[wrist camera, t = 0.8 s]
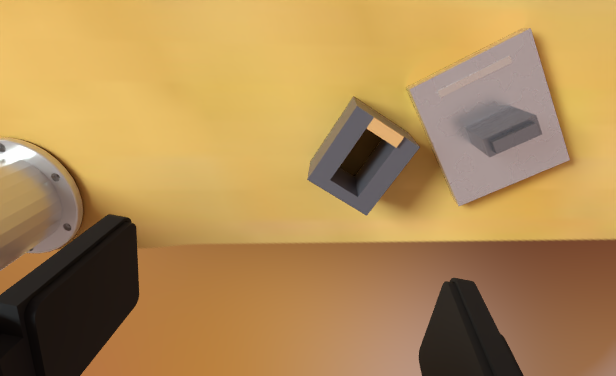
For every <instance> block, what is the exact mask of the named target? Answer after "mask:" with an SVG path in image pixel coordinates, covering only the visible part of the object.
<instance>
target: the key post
mask: <svg viewBox="0 0 616 376" xmlns="http://www.w3.org/2000/svg"><path fill="white" fill-rule="evenodd" d="M406 89H407V91H408V93H409V96H410V98H411V100H412V103H413V105H414V107H415V110H416V112H417V114H418V117H419V119H420V121H421V124H422V126H423V129H424V131H425V133H426V136H427V138H428V140H429V143H430V145H431V147H432V150H433V152H434V154H435V157H436V159H437V161H438V164H439V166H440V168H441V171H442V173H443V175H444V178H445V180H446V182H447V185H448V187H449V189H450V192H451V194H452V196H453V199H454V201H455V202H456V203H457V205H458V206H461V205H463V204H466V203H468V202H470V201H473V200H475V199H478V198H480V197H482V196H485V195H487V194H490V193H492V192H494V191H497V190H499V189H501V188H504V187H506V186H509V185H511V184H513V183H516V182H518V181H521V180H523V179H525V178H528V177H530V176H533V175H535V174H537V173H540V172H542V171H545V170H547V169H549V168H552V167H554V166H557V165H559V164H561V163H564V162H566V161H569V160H570V158H569V155H568V152H567V148H566V145H565V142H564V138H563V135H562V132H561V128H560V125H559V122H558V118H557V115H556V112H555V108H554V105H553V102H552V98H551V95H550V92H549V88H548V85H547V81H546V78H545V75H544V71H543V68H542V65H541V61H540V58H539V55H538V51H537V48H536V45H535V41H534V38H533V35H532V31H531V28H526V29H520V30H518V31H516V32H514V33H512V34H510V35H508V36H506V37H504V38H502V39H500V40H498V41H496V42H494V43H492V44H490V45H488V46H486V47H484V48H482V49H480V50H479V51H477V52H475V53H473V54H471V55H469V56H467V57H465V58H463V59H461V60H459V61H457V62H455V63H453V64H451V65H449V66H447V67H445V68H443V69H441V70H439V71H437V72H435V73H433V74H431V75H429V76H427V77H425V78H423V79H421V80H419V81H417V82H415V83H414V84H412V85H410V86H408V87H406Z"/></svg>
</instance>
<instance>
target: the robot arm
mask: <svg viewBox="0 0 616 376" xmlns="http://www.w3.org/2000/svg"><path fill="white" fill-rule="evenodd" d="M82 216H83V205H82V199H81V196H80V192H79V189H78V187H77V185H76V183H75V181H74V180H73V178H72V177H71V175H70V174H69V172H68V171H67V170H66V168H65V167H64V166H63V165H62V164H61V163H60V162H59V161H58V160H57V159H56V158H54V157H53V156H52V155H50V154H49V153H48V152H46V151H45V150H43V149H41V148H39V147H38V146H36V145H34V144H31V143H29V142H26V141H23V140H19V139H14V138H0V270H2V269H3V268H5V267H6V266H8V265H9V264H10V263H12V262H13V261H15V260H16V259H17V258H19V257H20V256H22V255H23V254H25V253H44V252H50V251H53V250H55V249H58V248H60V247H61V246H63V245H64V244H65V243H67V242H68V241H69V240H70V239H71V238H73V237H74V236H75V234H76V233H77V231H78V230H79V227H80V225H81V222H82ZM138 297H139V281H138V258H137V236H136V226H135V224H133V223H131V220H130V219H129V218H127V217H122V216H116V215H107V216H105V217H104V218H103V219H101V220H100V221H99V222H97V223H96V224H95V225H93V226H92V227H91V228H89V229H88V230H87V231H85V232H84V233H83V234H81V235H80V236H79V237H77V238H76V239H75V240H73V241H72V242H71V243H69V244H68V245H67V246H65V247H64V248H63V249H61V250H60V251H58V252H57V253H56V254H54V255H53V256H52V257H50V258H49V259H48V260H46V261H45V262H44V263H42V264H41V265H40V266H38V267H37V268H36V269H34V270H33V271H32V272H31V273H29V274H28V275H26V276H25V277H24V278H22V279H21V280H20V281H18V282H17V283H16V284H14V285H13V286H12V287H10V288H9V289H7V290H6V291H5V292H4V293H2V294H1V295H0V376H80V375H81V374H82V372H83V371H84V370H85V369H86V367H87V366H88V365H89V364H90V362H91V361H92V360H93V359H94V357H95V356H96V355H97V354H98V352H99V351H100V350H101V349H102V347H103V346H104V345H105V344H106V342H107V341H108V340H109V338H110V337H111V336H112V335H113V333H114V332H115V331H116V330H117V328H118V327H119V326H120V324H121V323H122V322H123V321H124V320H125V318H126V317H127V316H128V315H129V313H130V312H131V311H132V309H133V308H134V307H135V305H136V304H137V301H138ZM419 363H420V368H421V372H422V376H523V374H522V372H521V370H520V368H519V366H518V364H517V362H516V360H515V358H514V356H513V354H512V352H511V350H510V348H509V346H508V344H507V342H506V340H505V338H504V337H503V336H502V335H501V334H500V333H499V331H498V329H497V327H496V325H495V323H494V321H493V319H492V317H491V315H490V313H489V311H488V309H487V306H486V304H485V303H484V300H483V299H482V296H481V294H480V292H479V290H478V289H477V286H476V284H475V283H474V282H473V281H469V280H463V279H458V278H452V279H451V280H450V282H444V283H443V286H442V288H441V291H440V294H439V297H438V299H437V302H436V305H435V308H434V311H433V313H432V316H431V319H430V322H429V325H428V328H427V330H426V333H425V336H424V339H423V341H422V344H421V347H420V350H419Z"/></svg>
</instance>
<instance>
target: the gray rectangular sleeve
mask: <svg viewBox="0 0 616 376" xmlns="http://www.w3.org/2000/svg"><path fill="white" fill-rule="evenodd" d="M366 128H367V129H368V130H370V131H371V132H373V133H374V134H376V135H377V136H379V137H380V138H382V140H381V141H380V143H379V144H378V145H377V147H376V148H375V149H374V151H373V152H372V153H371V155H370V156H369V158H368V159H367V160H366V162H365V163H364V164H363V166H362V167H361V169H360V170H359V171H358V173H357V174H356V175H355V177H354V176H353V175H351V174H349V173H348V172H346V171H345V170H343V169H341V168H340V165H341V164H342V162H343V161H344V159H345V158H346V157H347V155H348V154H349V152H350V151H351V150H352V148H353V147H354V145H355V144H356V142H357V141H358V140H359V138H360V137H361V135H362V134H363V132H364V131H365V130H366ZM419 148H420V147H419V145H418V144H417V143H416V142H415V141H414V139H413V138H412V137H411V136H410V134H409V133H408V132H406V131H405V130H403V129H402V128H400V127H399V126H397V125H396V124H394V123H393V122H391V121H390V120H388V119H387V118H385V117H384V116H382V115H381V114H379V113H378V112H376V111H375V110H373V109H372V108H370V107H369V106H367V105H366V104H364V103H363V102H361V101H360V100H358V99H356V98H355V97H353V98H352V100H351V101H350V103H349V104H348V106H347V107H346V109H345V110H344V112H343V113H342V115H341V116H340V118H339V119H338V121H337V122H336V124H335V125H334V127H333V128H332V130H331V131H330V133H329V134H328V136H327V137H326V139H325V140H324V142H323V143H322V145H321V146H320V148H319V149H318V151H317V152H316V154H315V155H314V157H313V158H312V160H311V161H310V167H309V173H308V179H307V180H309V181H310V182H312V183H314V184H315V185H317V186H319V187H320V188H322V189H324V190H325V191H327V192H329V193H330V194H332V195H334V196H335V197H337V198H338V199H340V200H342V201H343V202H345V203H347V204H348V205H350V206H352V207H353V208H355V209H357V210H358V211H360V212H362V213H363V214H365V215H366V216H367V215H368V213H369V212H370V211H371V209H372V208H373V207H374V206H375V204H376V203H377V202H378V200H379V199H380V198H381V197H382V195H383V194H384V193H385V191H386V190H387V189H388V188H389V186H390V185H391V184H392V182H393V181H394V180H395V179H396V177H397V176H398V175H399V173H400V172H401V171H402V170H403V168H404V167H405V166H406V164H407V163H408V162H409V161H410V159H411V158H412V157H413V155H414V154H415V153H416V152H417V150H418V149H419Z"/></svg>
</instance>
